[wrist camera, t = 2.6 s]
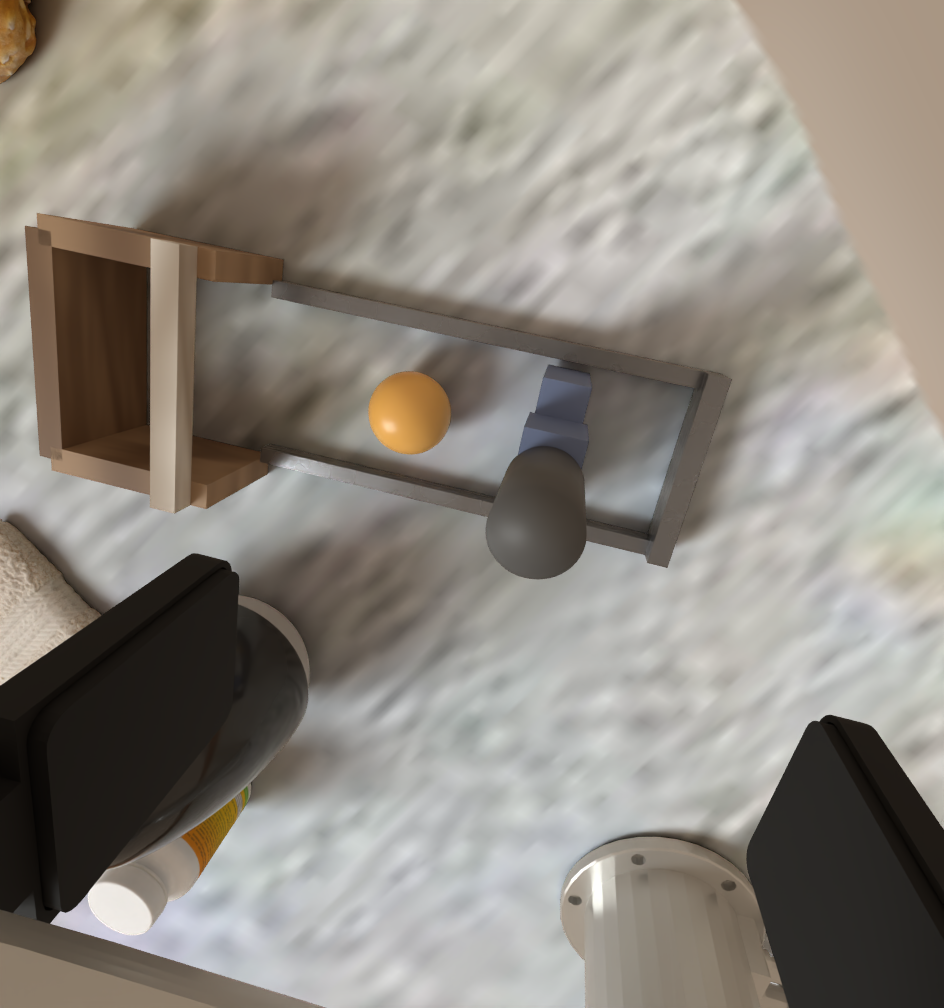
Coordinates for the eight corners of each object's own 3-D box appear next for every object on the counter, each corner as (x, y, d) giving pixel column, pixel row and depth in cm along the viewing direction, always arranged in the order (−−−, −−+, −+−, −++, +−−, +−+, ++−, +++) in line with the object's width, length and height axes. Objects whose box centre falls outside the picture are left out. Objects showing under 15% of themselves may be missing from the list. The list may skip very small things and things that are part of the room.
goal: (283, 259, 30) (198, 248, 23) (267, 474, 34) (190, 517, 27) (125, 226, 31) (-3, 206, 24) (127, 440, 35) (19, 474, 28)
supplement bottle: (210, 733, 41) (106, 858, 32) (268, 785, 42) (182, 921, 32) (168, 770, 43) (58, 898, 34) (224, 820, 43) (131, 958, 34)
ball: (464, 376, 30) (448, 387, 26) (450, 451, 32) (433, 471, 28) (388, 359, 31) (362, 368, 27) (378, 434, 32) (351, 452, 28)
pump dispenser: (282, 544, 35) (82, 710, 21) (360, 688, 38) (229, 925, 23) (150, 595, 38) (-105, 773, 24) (231, 726, 40) (44, 959, 26)
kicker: (599, 375, 29) (617, 432, 17) (564, 509, 31) (557, 644, 19) (538, 362, 29) (511, 408, 17) (507, 496, 31) (465, 621, 19)
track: (721, 373, 28) (731, 379, 26) (661, 551, 31) (667, 567, 30) (281, 280, 30) (262, 279, 28) (268, 457, 33) (250, 466, 32)
